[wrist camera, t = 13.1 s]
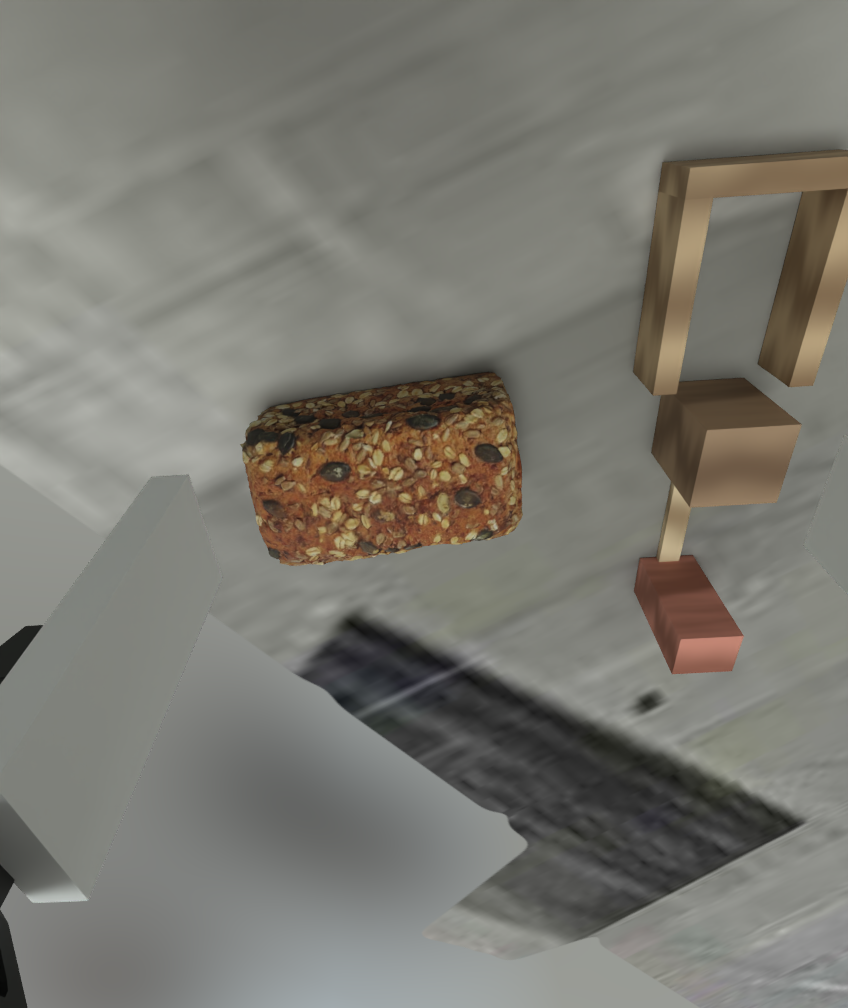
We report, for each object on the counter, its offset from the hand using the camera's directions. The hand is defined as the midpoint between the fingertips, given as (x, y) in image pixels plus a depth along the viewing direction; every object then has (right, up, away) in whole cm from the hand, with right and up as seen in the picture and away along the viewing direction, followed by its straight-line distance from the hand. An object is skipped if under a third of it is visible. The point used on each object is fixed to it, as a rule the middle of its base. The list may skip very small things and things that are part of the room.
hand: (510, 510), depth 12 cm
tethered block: (+20, +1, +38) cm, 43 cm away
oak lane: (+19, +15, +28) cm, 37 cm away
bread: (-4, +5, +35) cm, 36 cm away
